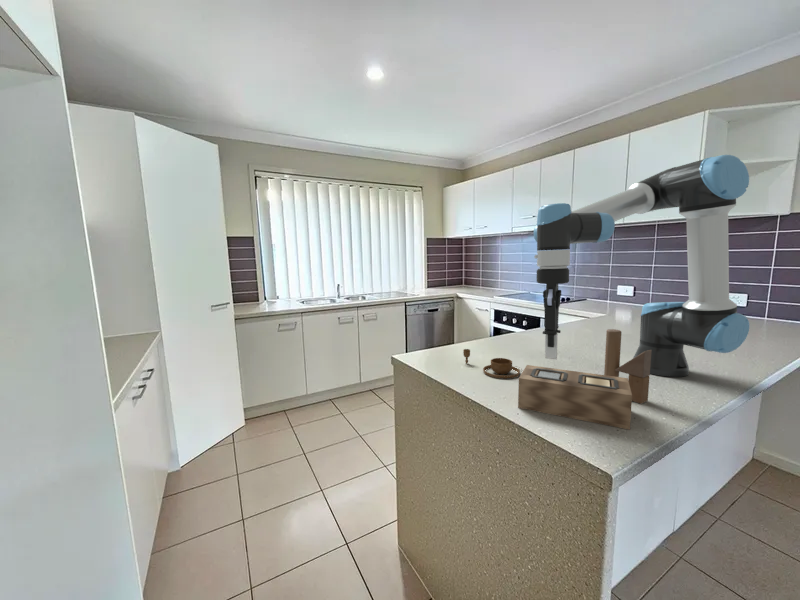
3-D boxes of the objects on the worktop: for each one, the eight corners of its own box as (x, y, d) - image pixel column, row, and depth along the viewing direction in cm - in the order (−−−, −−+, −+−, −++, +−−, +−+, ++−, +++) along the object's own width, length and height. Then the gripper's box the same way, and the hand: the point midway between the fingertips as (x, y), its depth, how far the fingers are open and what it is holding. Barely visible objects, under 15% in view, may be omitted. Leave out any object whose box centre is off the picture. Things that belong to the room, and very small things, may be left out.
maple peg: (607, 407, 84) (609, 380, 83) (608, 415, 79) (610, 387, 78) (585, 403, 86) (586, 377, 85) (584, 411, 82) (585, 383, 81)
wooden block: (641, 404, 87) (645, 337, 85) (599, 390, 96) (603, 329, 94) (648, 401, 89) (653, 335, 86) (607, 388, 98) (610, 328, 96)
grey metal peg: (559, 398, 89) (560, 373, 88) (557, 406, 85) (558, 379, 84) (539, 395, 92) (540, 370, 91) (536, 402, 87) (537, 376, 86)
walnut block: (625, 408, 85) (627, 377, 84) (629, 429, 74) (632, 394, 73) (526, 391, 97) (526, 364, 96) (518, 407, 86) (518, 377, 85)
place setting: (484, 383, 105) (484, 365, 105) (460, 364, 125) (460, 349, 124) (534, 378, 109) (534, 360, 108) (502, 360, 128) (503, 345, 128)
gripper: (540, 266, 91) (539, 350, 94) (532, 269, 80) (531, 363, 83) (571, 266, 88) (568, 353, 91) (567, 268, 77) (565, 367, 79)
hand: (551, 358), depth 87 cm, fingers closed
